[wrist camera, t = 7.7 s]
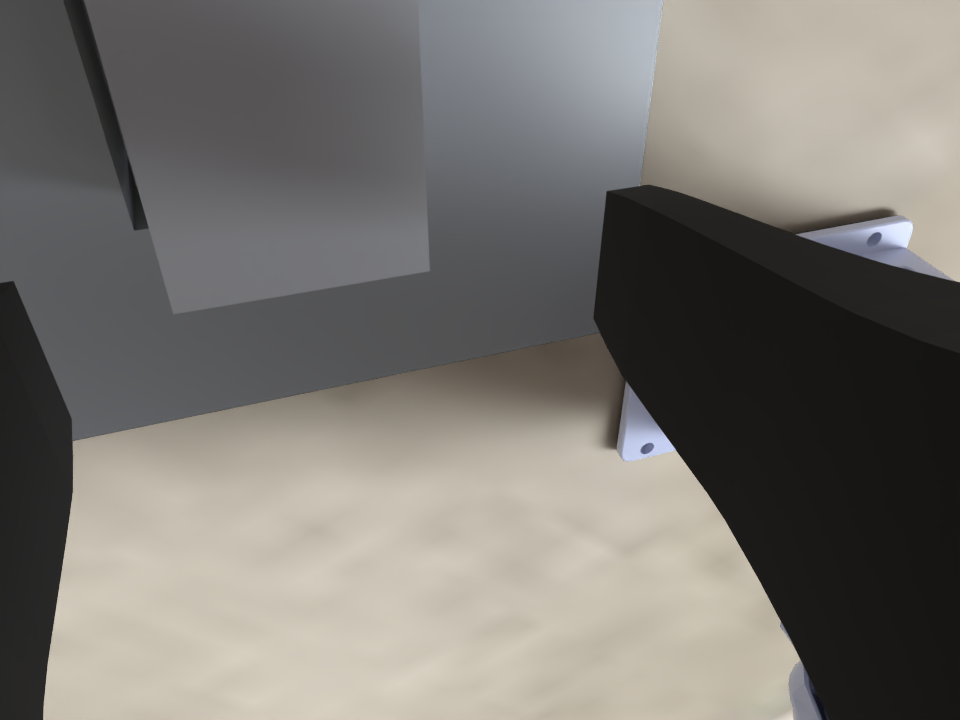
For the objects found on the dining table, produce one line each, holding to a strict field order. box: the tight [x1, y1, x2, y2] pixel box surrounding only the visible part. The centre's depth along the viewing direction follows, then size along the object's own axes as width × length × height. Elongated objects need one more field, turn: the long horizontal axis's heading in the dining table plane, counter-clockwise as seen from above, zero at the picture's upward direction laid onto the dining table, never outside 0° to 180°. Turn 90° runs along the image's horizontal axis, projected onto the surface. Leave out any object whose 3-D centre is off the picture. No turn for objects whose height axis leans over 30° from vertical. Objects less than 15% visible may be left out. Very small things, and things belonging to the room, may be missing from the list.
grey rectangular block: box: [84, 0, 430, 314], centre depth 13 cm, size 4×5×6 cm
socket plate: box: [0, 0, 663, 441], centre depth 15 cm, size 16×16×4 cm
